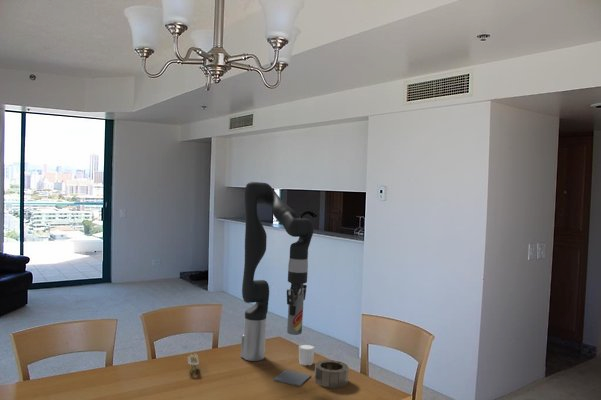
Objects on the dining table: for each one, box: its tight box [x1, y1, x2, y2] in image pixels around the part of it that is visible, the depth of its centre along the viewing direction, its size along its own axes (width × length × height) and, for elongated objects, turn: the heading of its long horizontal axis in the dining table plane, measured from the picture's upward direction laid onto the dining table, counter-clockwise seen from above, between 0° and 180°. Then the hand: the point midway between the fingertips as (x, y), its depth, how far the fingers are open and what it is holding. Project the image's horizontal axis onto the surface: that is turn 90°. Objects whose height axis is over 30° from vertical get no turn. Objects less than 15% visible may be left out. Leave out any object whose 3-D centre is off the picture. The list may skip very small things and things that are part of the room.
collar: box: [313, 359, 349, 389], centre depth 188 cm, size 12×12×6 cm
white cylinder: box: [298, 344, 316, 367], centre depth 206 cm, size 7×7×7 cm
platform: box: [187, 353, 200, 375], centre depth 192 cm, size 12×18×7 cm, turn 15°
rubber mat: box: [273, 369, 312, 387], centre depth 189 cm, size 11×11×1 cm
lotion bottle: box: [286, 284, 305, 336], centre depth 188 cm, size 6×6×20 cm
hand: (295, 313), depth 189 cm, fingers closed on lotion bottle, 5 cm apart
